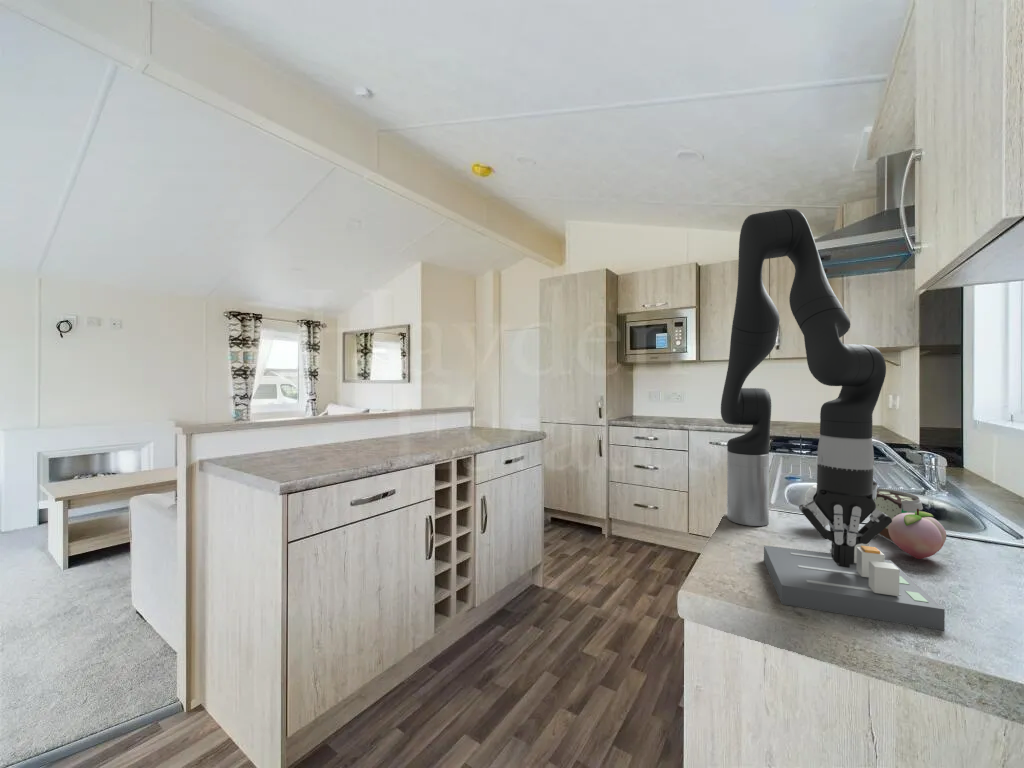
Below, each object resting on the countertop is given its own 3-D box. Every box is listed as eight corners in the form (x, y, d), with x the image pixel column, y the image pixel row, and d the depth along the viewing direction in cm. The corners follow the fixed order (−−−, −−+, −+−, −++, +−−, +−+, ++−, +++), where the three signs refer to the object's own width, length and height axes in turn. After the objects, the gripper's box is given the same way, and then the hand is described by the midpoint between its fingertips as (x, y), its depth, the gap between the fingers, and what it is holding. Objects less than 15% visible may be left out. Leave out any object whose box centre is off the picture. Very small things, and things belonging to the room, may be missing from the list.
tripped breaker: (856, 570, 75) (856, 544, 75) (878, 573, 74) (878, 547, 74) (861, 576, 73) (861, 549, 73) (884, 579, 72) (884, 552, 72)
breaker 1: (843, 557, 81) (843, 535, 80) (863, 559, 79) (864, 537, 79) (848, 562, 78) (848, 539, 78) (868, 564, 77) (869, 541, 77)
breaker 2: (868, 585, 69) (868, 560, 69) (892, 589, 68) (892, 563, 68) (874, 592, 67) (874, 566, 67) (899, 596, 66) (899, 569, 66)
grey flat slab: (763, 560, 87) (763, 544, 87) (890, 577, 79) (890, 559, 79) (781, 604, 70) (781, 584, 70) (944, 630, 63) (944, 608, 63)
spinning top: (810, 533, 102) (810, 481, 102) (801, 523, 109) (801, 474, 109) (850, 537, 99) (850, 484, 99) (838, 526, 106) (838, 476, 106)
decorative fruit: (896, 546, 94) (896, 499, 94) (950, 559, 87) (950, 509, 87) (881, 557, 88) (881, 507, 88) (936, 571, 82) (937, 517, 81)
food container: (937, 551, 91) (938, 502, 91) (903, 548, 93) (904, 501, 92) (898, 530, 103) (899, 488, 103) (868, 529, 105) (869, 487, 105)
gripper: (884, 462, 75) (881, 563, 76) (793, 456, 80) (791, 551, 81) (904, 471, 68) (901, 582, 69) (803, 464, 73) (801, 567, 74)
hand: (842, 565), depth 75 cm, fingers closed
